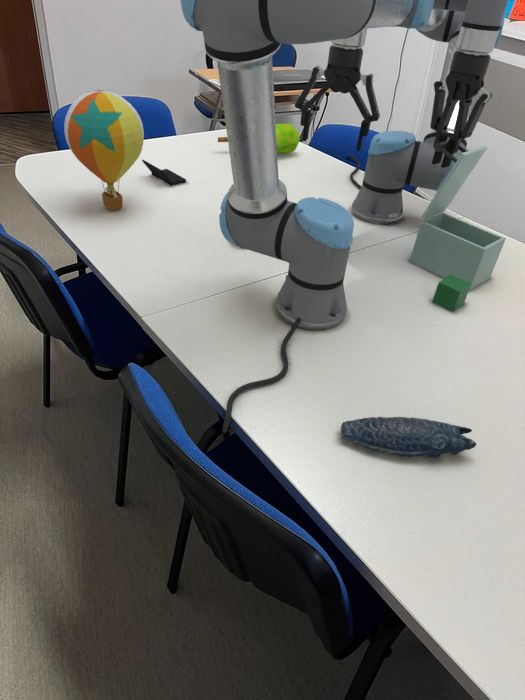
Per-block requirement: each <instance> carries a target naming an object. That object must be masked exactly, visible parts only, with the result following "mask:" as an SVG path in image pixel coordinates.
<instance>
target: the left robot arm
mask: <svg viewBox="0 0 525 700" xmlns="http://www.w3.org/2000/svg"><path fill="white" fill-rule="evenodd" d="M433 4H434V0H180V7H181V11H182V15H183V18H184V20H185V21H186V23H187V24H188V25H189V26H190V28H192V29H194V30H195V31H197V32H202V36H203V43H204V50H205V53H206V55H207V56H208V57H210V58H211V59H212V60H213V61H215V62H216V64H217V71H218V78H219V84H220V85H219V86H220V93H221V100H222V107H223V114H224V116H223V117H224V123H225V131H226V137H227V138H228V142H227V145H228V151H229V158H230V165H231V166H230V167H231V173H232V180H233V184H232V185H231V186H230V187H229V189H228V191H227V193H226V194H225V195H224V197H223V198H222V201H221V203H220V207H219V209H220V213H219V217H218V218H219V219H218V220H219V221H218V222H219V227H220V231H221V233H222V236H223V237H224V239H225V240H226V241H227V242H229V243H230V244H232V245H233V246H235V245H236V247H238V248H239V249H242V250H247V251H251V252H254V253H256V254H260V255H264V256H266V257H271V258H273V259H277V260H279V261H282V262H285V263H288V270H287V271H288V272H287V274H286V275H285V279H284V282H283V283H282V285H281V287H280V290H279V291H278V294H277V296H276V300H275V311H276V313H277V315H278V316H279V317H280V318H281V319H282V320H283V321H284V322H286V323H287V324H289V325H291V328H290V329H289V330H288V332H287V334H286V335H285V336H284V338H283V339H282V343H281V346H280V350H281V351H280V353H281V359H282V362H283V367H282V370H281V371H280V372H279V373H278V374H276V375H275V376H273V377H270V378H266V379H261V380H257V381H252V382H248V383H246V384H242V385H241V386H240V387H238V388H237V389H235V390H234V391H233V392H232V393H231V394H230V396H229V398H228V400H227V403H226V411H225V416H224V421H223V425H222V429H221V432H222V433H223V434H224V433H227V432H228V430H229V427H230V423H231V419H232V413H233V405H234V402H235V400H236V399H237V398H238V396H239V395H240V394H241V393H243V392H245V391H247V390H249V389H253V388H257V387H263V386H266V385H271V384H274V383H276V382H279V381H280V380H281V379H283V378H284V377H285V376H286V374H287V373H288V371H289V366H290V365H289V364H290V363H289V358H288V354H287V347H288V346H287V345H288V343H289V342H290V339H291V338H292V336H293V335H294V333H295V331H296V330H297V329H298V328H300V329H304V330H310V331H324V330H325V331H326V330H329V329H333V328H336V327H337V326H339V325H340V324H342V323H343V322H344V320H345V318H346V315H347V310H348V307H347V306H348V305H347V297H346V292H345V286H344V280H345V275H346V271H347V267H348V262H349V257H350V253H351V252H350V251H351V246H352V244H353V240H354V237H353V236H354V235H353V234H354V228H355V221H354V218H353V215H352V214H350V213H351V212H349V210H348V209H346V208H345V206H343V205H341V204H339V203H338V202H335V201H332V200H329V199H327V198H324V197H323V198H322V197H318V198H315V197H314V196H313V197H312V196H311V197H305V198H301V199H300V200H298V201H297V202H294V201H290V200H288V190H287V185H286V184H285V183H284V182H283V181H282V180H281V179H279V164H278V163H279V162H278V154H277V142H276V124H277V123H276V105H275V104H276V103H275V91H274V90H275V88H274V86H275V85H274V69H273V56H274V55H275V54H276V53H277V52H278V51H279V50H280V48H281V46H282V44H284V45H309V44H318V43H325V42H330V43H331V44H332V45H330V46H329V49H328V50H329V51H328V57H327V65H326V68H323V67H320V65H316V66H313V68H312V70H311V75H310V78H309V80H308V82H307V83H306V85H305V87H304V88H303V90H302V91H301V93H300V95H299V97H298V98H297V100H296V102H295V103H294V107H295V109H298V110H299V111H300V112H301V113H300V126H303V130H302V131H303V132H302V140H301V141H302V142H306V141H307V140H308V139H309V133H310V127H311V126H310V125H311V116H312V111H311V110H309V109H310V108H311V107H312V106H313V105H314V104H315V103H316V102H317V101H318V100H319V99H320V98H321V97H322V96H324V94H326V93H327V91H329V90H330V91H332V92H333V93H341V94H348V93H349V95H350V97H351V98H352V99H353V101H354V103H355V105H356V106H357V108H358V111H359V112H360V114H361V117H362V118H363V120H362V121H361V122H360V128H359V133H358V138H357V144H356V150H355V152H360V151H361V149H362V146H363V141H364V137H365V138H366V137H368V135H369V134H370V128H371V123H372V122H378V121H379V119H380V117H381V113H380V110H379V105H378V101H377V97H376V94H375V89H374V85H373V83H374V74H373V73H369V74H362V73H361V67H362V60H363V55H364V49H363V48H362V47H364V46H365V44H366V39H367V32H368V29H378V28H389V27H391V28H395V27H397V28H404V29H408V30H410V29H414V30H416V29H422V28H424V27H425V26H426V24H427V23H428V20H429V18H430V15H431V12H432V9H433ZM322 76H323V77H324V78H325V81H326V83H325V84H324V85H323V86H322V87H321V88H320V89H319V90H318V91H317V92H316V93H315V94H314V95H313V96H312V97H311V98H310V99H309V100H308V101H307V102H306V103H304V102H305V100H306V99H307V97H308V96H309V94H310V93H311V90H312V89H313V87H314V85H315V84H316V82H317V81H318V79H320V78H322ZM359 82H361V83H362V85H363V86H365V91H366V96H367V99H368V104H369V108H370V111H371V113H370V111H369V109H368V107H367V105H366V102H365V101H364V100H363V97H362V96H361V93H360V91H359V88H358V87H357V84H359Z"/></svg>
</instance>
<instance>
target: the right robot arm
mask: <svg viewBox="0 0 525 700" xmlns="http://www.w3.org/2000/svg"><path fill="white" fill-rule="evenodd" d="M508 3H509V0H434V4H433V9H432V12H431V15H430V18H429V20H428V23H427V24H426V26H425V27H424V28H422V29H415V30H416V31H417V32H418V33H420V34H421V35H422V36H424V37H425V38H428V39H430V40H433V41H434V42H441V43H447V44H448V46H447V50H448V52H449V53H450V60H449V63H448V67H447V70H446V75H445V78H444V79H442V80H437V81H434V83H433V88H434V97H433V104H432V112H431V119H430V129H431V131H430V132H428V133H426V134H425V135H424V137H423V141H420V140H419V141H418V140H417V138H416V134H415V133H412V132H408V131H405V130H387V131H382V132H378V133H376V134H375V135H373V137H372V139H371V141H370V145H369V149H368V151H367V154H368V155H367V160H366V165H365V170H364V174H363V179H362V183H361V185H360V184H359V183H358V181H356V179H354V175H355V174H356V173H357V172H358V171H359V169H360V168H361V162H360V161H359V160H358V159H357V157H355V156H354V155H352V154H348V155H347V156H346V157H345V159H348V160H349V159H352V160H353V161H354V162H355V163H356V164H357V166H356V168H355V169H354V170H353V171H352V172H350V175H349V178H350V180H351V182H352V184H353V185H355V186H356V187H357V188H358V189H359V191H358V193H357V194H356V197H355V198H354V200H353V201H352V203H351V209H350V213H351V215H352V216H354V217H355V218H357V219H358V220H361V221H363V222H366V223H369V224H373V225H383V226H386V225H388V226H389V225H394V224H397V223H399V222H401V221H402V219H403V216H404V202H403V190H404V186H405V185H406V186H411V187H414V188H415V187H416V188H420V189H426V190H431V191H435V192H437V191H438V190H439V188H440V187H441V185H442V184H443V182H444V180H445V179H446V177H447V176H448V174H449V173H450V171H451V169H452V168H453V166H454V165H455V162H454V161H452V160H451V159H450V158H449V157H447V156H446V155H445V154H444V153H442V152H441V151H439V152H436V151H435V150H434V145H435V144H436V143H439V142H442V141H446V140H449V141H448V144H447V148H446V150H447V151H448V152H449V153H450V154H452V155H453V156H454V157H456V158H457V159H458V158H459V157H460V155H461V154H462V153H463V152H462V151H460V150H459V149H458V148H459V145H461V146H462V147H463V148H464V149H466V150H467V151H470V150H471V149H469V148H467V146H468V141H467V138H471V137H472V134H473V133H474V130H475V128H476V126H477V124H478V121H479V119H480V117H481V115H482V113H483V111H484V109H485V106H486V105H487V103H489V101H490V100H491V99H492V97H493V93H492V92H488V91H487V89H485V88H484V86H485V82H484V80H485V76H486V74H487V71H488V68H489V65H490V63H491V59H492V57H491V55H490V54H492V53H493V51H494V49H497V47H498V45H499V44H500V41H501V37H502V33H503V29H504V25H505V24H504V23H505V18H506V10H507V6H508V5H509V4H508ZM476 96H477V97H476ZM474 97H476V101H475V103H474V105H473V107H472V104H473V100H474ZM471 107H472V109H471Z"/></svg>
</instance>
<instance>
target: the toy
mask: <svg viewBox="0 0 525 700" xmlns="http://www.w3.org/2000/svg"><path fill="white" fill-rule="evenodd" d="M63 128H64V130H63V131H64V132H63V133H64V137H65V141H66V144H67V146H68V148H69V150H70V151H71V152H72V154H73V156H75V158H76V159H77V161H78V162H80V163H81V165H83V166H84V167H85V168H86V169H87V170H88V171H90V172H91V173H92V174H93V175H94V176H96V177H97V178H98V179H100V180H101V183H102V184H101V185H102V187H103V191H102V193H101V198H102V203H103V205H104V207H105V208H106V209H108V210H109V211H110V212H113V211H118V210H121V209H122V208H123V203H124V201H123V195H122V194H121V193H120V192H119V191H118V190H119V188H120V183H118V182H120V181H121V178H122V177H123V176H124V175H125V174H126V173H127V172H128V171H129V170H130V169H131V167H133V165H134V164H135V163H136V161H137V160H138V159H139V158H140V155H141V153H142V150H143V147H144V141H145V131H144V130H145V129H144V125H143V121H142V119H141V116H140V114H139V113H138V111H137V109H136V108H134V106H133V105H132V103H130V102H129V101H128V100H127V99H126V98H124V97H123V96H122V95H119V94H117V93H115V92H112V91H109V90H102V89H101V90H100V89H98V90H92V91H87V92H85V93H82V95H79V96H78V97H77V98H76V99H75V100H73V102H72V103H71V105H70V107H69V108H68V111H67V112H66V114H65V118H64V124H63ZM104 183H105V184H106V185H107V186H106V187H105V186H104ZM115 183H118V185H117V190H116V188H115Z"/></svg>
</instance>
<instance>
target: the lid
mask: <svg viewBox="0 0 525 700" xmlns="http://www.w3.org/2000/svg"><path fill="white" fill-rule="evenodd" d="M448 141H449V140H446V141H442V142H439V143H436V144H435V145H434V150H435V151H436V152H439V151H441V152H442V153H444V154H445V155H446V156H447V157H449V158H450V159H451V160H452V161H454V162H455V165H454V166H453V168H452V169H451V171H450V173H449V174H448V176H447V177H446V179H445V180H444V182H443V184H442V185H441V187H440V188H439V190H438V191H436V193H435V194H434V196H433V198H432V199H431V201H430V202H429V204H428V205H427V207H426V209H425V210H424V211H423V213H422V215H421V217H420V220H421V221H424V220H426V219H428V218H431V217H433V216H436V215H438V214H440V213H445V212H446V210H447V209H448V207H449V206H450V204H451V203H452V201H454V198H455V197H456V195H457V194H458V193H459V192H460V190H461V188H462V187H463V185H464V184H465V182H466V181H467V179H468V177H469V176H470V174H471V173H472V172H473V170H474V168H475V167H476V165H477V164H478V163H479V161H481V158H482V157H483V155H484V154H485V152H486V151H487V149H488V147H487V146H485V145H484V146H480V147H477V148H473V149H469V150H470V151H467V150H466V149H467V148H466V149H464V148H463V147H462V146H461V145H459V148H458V149H459V150H460V151H462V152H463V153H462V154H461V155H460V157H459V158H458V159H457V158H456V157H454V156H453V155H452V154H450V153H449V152H448V151H447V150H446V148H447V144H448Z"/></svg>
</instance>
